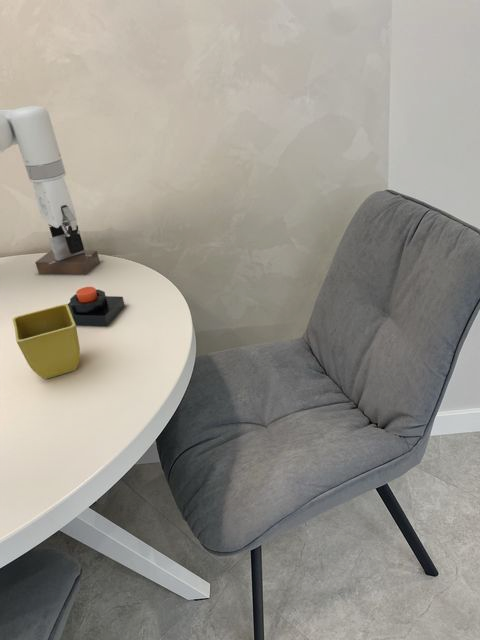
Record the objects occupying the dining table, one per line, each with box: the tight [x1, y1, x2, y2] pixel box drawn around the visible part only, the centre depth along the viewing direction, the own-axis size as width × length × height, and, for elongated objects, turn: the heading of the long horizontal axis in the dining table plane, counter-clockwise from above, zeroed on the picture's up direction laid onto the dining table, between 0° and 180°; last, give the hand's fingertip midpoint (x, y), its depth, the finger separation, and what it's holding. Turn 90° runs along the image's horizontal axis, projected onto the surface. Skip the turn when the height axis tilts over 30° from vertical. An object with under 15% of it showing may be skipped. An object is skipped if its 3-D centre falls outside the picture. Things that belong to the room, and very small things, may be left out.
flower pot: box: [12, 303, 81, 380], centre depth 88 cm, size 9×9×9 cm
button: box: [75, 286, 98, 302], centre depth 103 cm, size 4×4×2 cm
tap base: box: [34, 249, 101, 276], centre depth 126 cm, size 12×9×3 cm
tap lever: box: [49, 234, 85, 261], centre depth 124 cm, size 6×2×5 cm, turn 128°
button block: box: [66, 289, 126, 327], centre depth 104 cm, size 10×8×4 cm
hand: (69, 246), depth 124 cm, fingers open, 9 cm apart
